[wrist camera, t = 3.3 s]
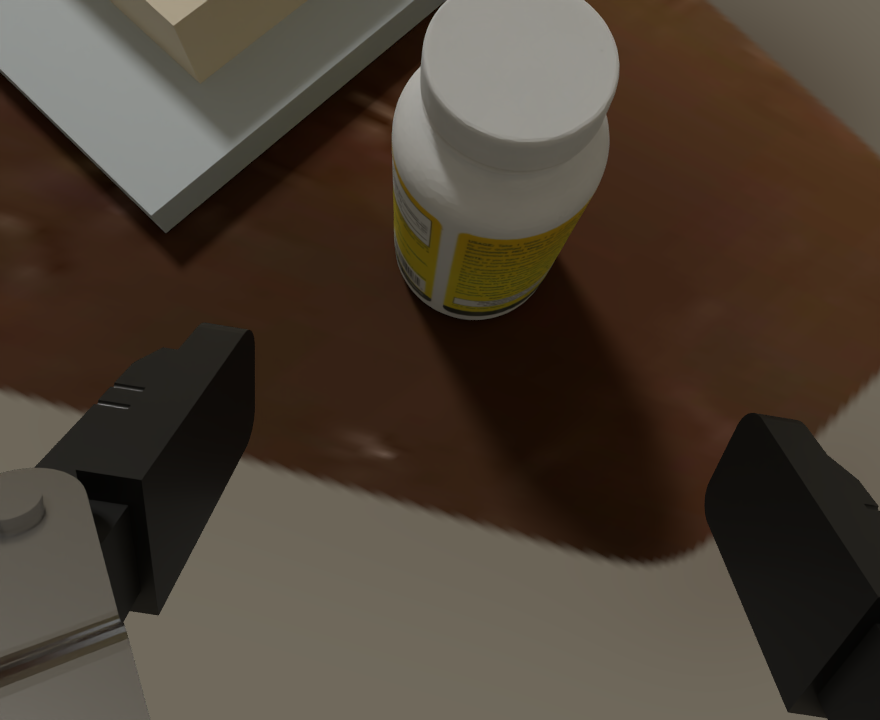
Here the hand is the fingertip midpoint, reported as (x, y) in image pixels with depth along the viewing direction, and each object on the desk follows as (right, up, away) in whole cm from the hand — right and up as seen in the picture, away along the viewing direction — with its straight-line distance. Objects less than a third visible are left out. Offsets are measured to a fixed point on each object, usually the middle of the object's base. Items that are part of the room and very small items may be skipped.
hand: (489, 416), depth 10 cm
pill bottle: (0, +5, +15) cm, 16 cm away
